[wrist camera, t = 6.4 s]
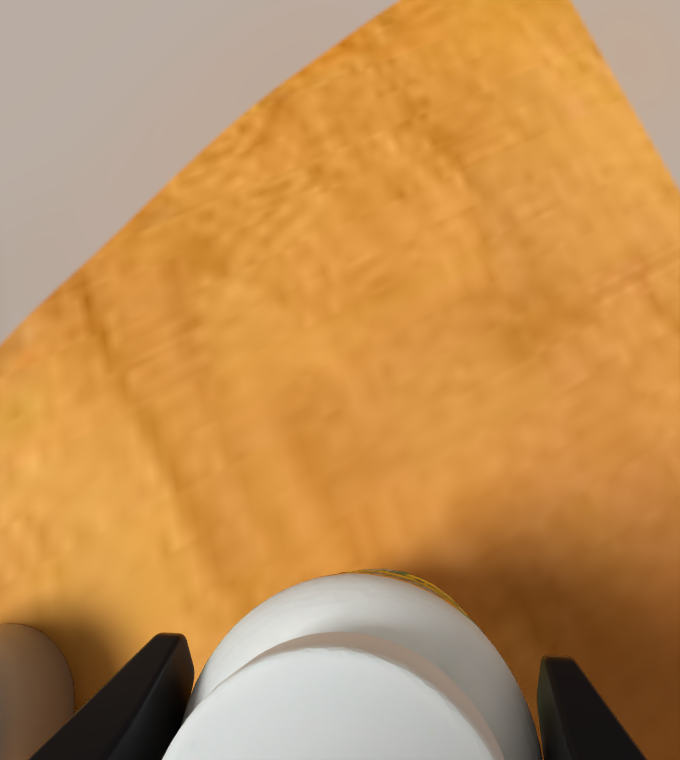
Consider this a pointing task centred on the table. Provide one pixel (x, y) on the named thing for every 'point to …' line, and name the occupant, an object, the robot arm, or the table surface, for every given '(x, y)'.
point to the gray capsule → (31, 691)
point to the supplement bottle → (356, 680)
